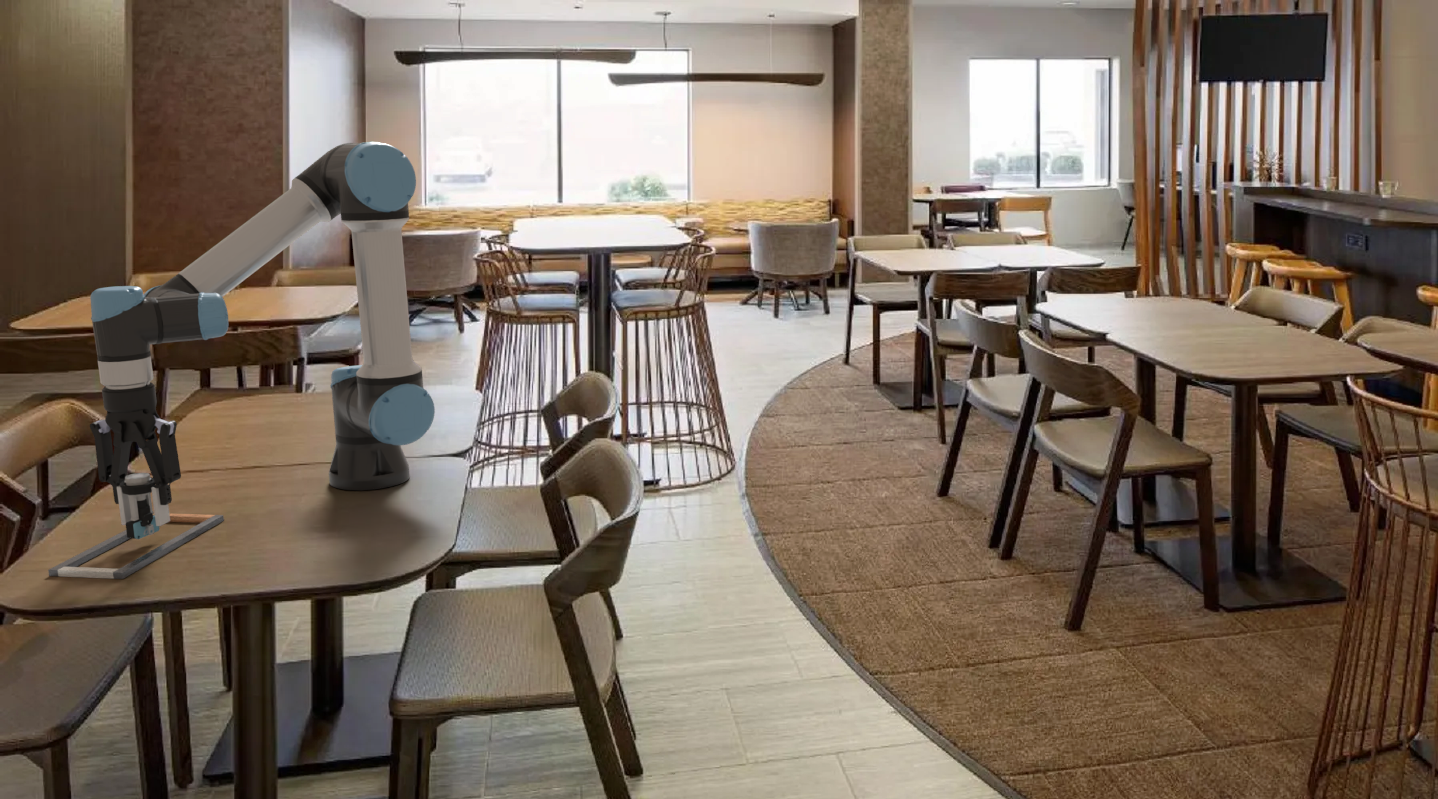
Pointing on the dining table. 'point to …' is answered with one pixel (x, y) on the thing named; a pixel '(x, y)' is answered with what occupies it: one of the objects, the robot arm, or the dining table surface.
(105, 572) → the open rectangular frame
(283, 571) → the dining table surface
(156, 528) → the push button
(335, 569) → the dining table surface
